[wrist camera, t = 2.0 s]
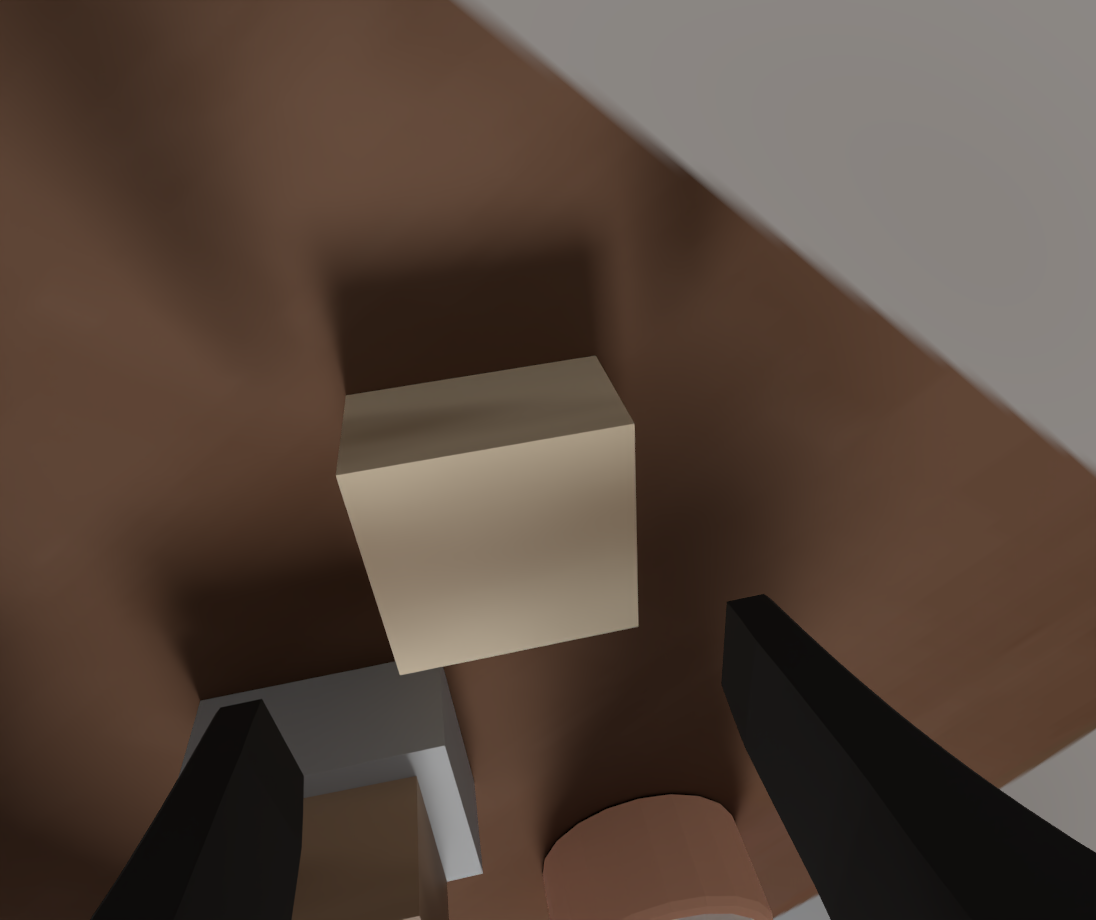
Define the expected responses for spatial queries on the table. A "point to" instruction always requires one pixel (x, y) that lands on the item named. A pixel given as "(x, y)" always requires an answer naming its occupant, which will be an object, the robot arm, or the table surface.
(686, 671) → the table surface
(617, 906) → the pepper shaker
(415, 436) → the oak block
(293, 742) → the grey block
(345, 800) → the walnut block
